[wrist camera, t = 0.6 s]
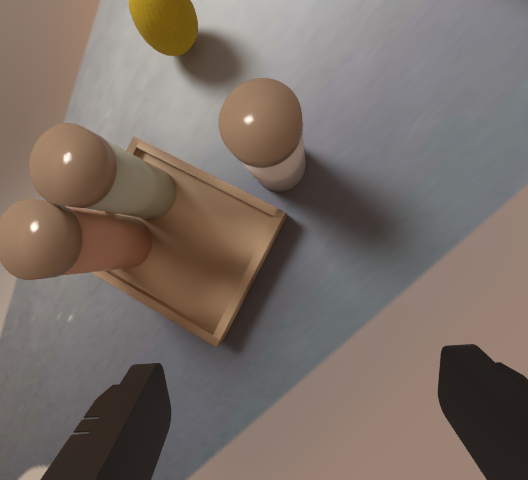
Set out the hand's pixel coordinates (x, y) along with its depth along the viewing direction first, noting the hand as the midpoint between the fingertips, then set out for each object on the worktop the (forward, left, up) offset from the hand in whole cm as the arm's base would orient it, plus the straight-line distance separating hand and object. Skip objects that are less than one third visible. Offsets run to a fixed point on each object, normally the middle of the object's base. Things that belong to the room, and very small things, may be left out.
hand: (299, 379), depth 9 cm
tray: (+2, -14, -21) cm, 25 cm away
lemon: (-16, -23, -21) cm, 36 cm away
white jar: (-9, -8, -21) cm, 25 cm away
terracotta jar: (+4, -18, -20) cm, 27 cm away
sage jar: (-1, -18, -20) cm, 27 cm away
